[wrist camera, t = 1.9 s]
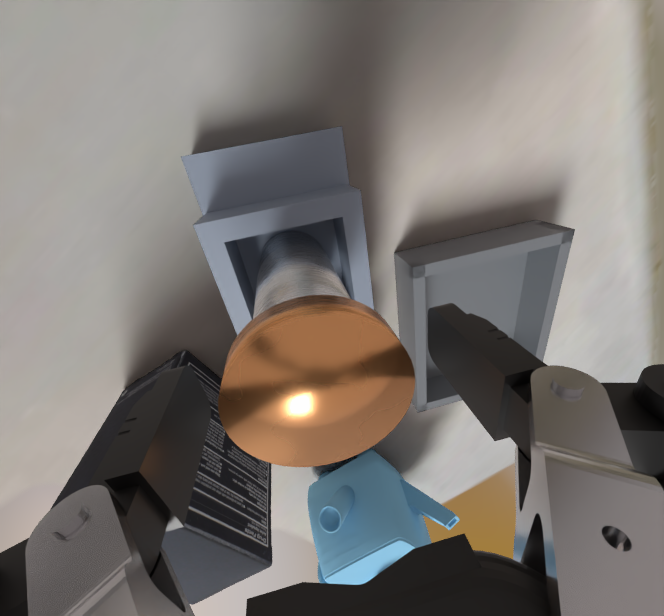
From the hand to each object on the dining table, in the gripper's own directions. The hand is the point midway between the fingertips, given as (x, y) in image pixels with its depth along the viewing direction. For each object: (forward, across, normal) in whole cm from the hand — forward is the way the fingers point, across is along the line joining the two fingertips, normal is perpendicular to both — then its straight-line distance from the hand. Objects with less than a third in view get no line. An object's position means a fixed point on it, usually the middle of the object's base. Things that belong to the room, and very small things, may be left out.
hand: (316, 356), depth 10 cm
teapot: (+12, -2, +26) cm, 28 cm away
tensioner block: (+11, 0, +2) cm, 11 cm away
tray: (+11, -12, +8) cm, 18 cm away
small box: (+11, +10, +11) cm, 18 cm away
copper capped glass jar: (+9, 0, 0) cm, 9 cm away
